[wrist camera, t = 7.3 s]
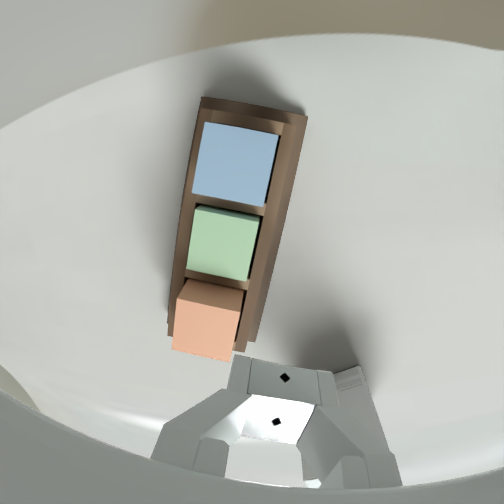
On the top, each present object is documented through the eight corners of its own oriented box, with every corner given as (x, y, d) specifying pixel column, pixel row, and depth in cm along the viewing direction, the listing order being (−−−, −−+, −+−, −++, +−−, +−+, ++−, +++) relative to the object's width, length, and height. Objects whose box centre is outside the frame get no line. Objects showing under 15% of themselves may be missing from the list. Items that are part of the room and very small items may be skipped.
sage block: (260, 210, 29) (258, 222, 24) (249, 261, 30) (246, 281, 26) (206, 199, 29) (195, 209, 24) (198, 250, 30) (186, 268, 26)
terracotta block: (244, 285, 29) (240, 312, 24) (234, 331, 30) (229, 362, 26) (190, 274, 29) (176, 298, 24) (184, 320, 30) (171, 349, 25)
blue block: (276, 138, 25) (278, 135, 20) (263, 196, 26) (263, 207, 22) (216, 127, 25) (205, 121, 20) (205, 185, 26) (191, 193, 21)
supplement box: (292, 384, 38) (300, 481, 24) (360, 363, 37) (393, 454, 22) (310, 425, 40) (320, 511, 26) (370, 406, 39) (396, 489, 25)
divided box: (306, 118, 28) (315, 110, 23) (255, 335, 36) (253, 367, 30) (204, 99, 28) (190, 87, 22) (170, 316, 35) (155, 345, 30)
